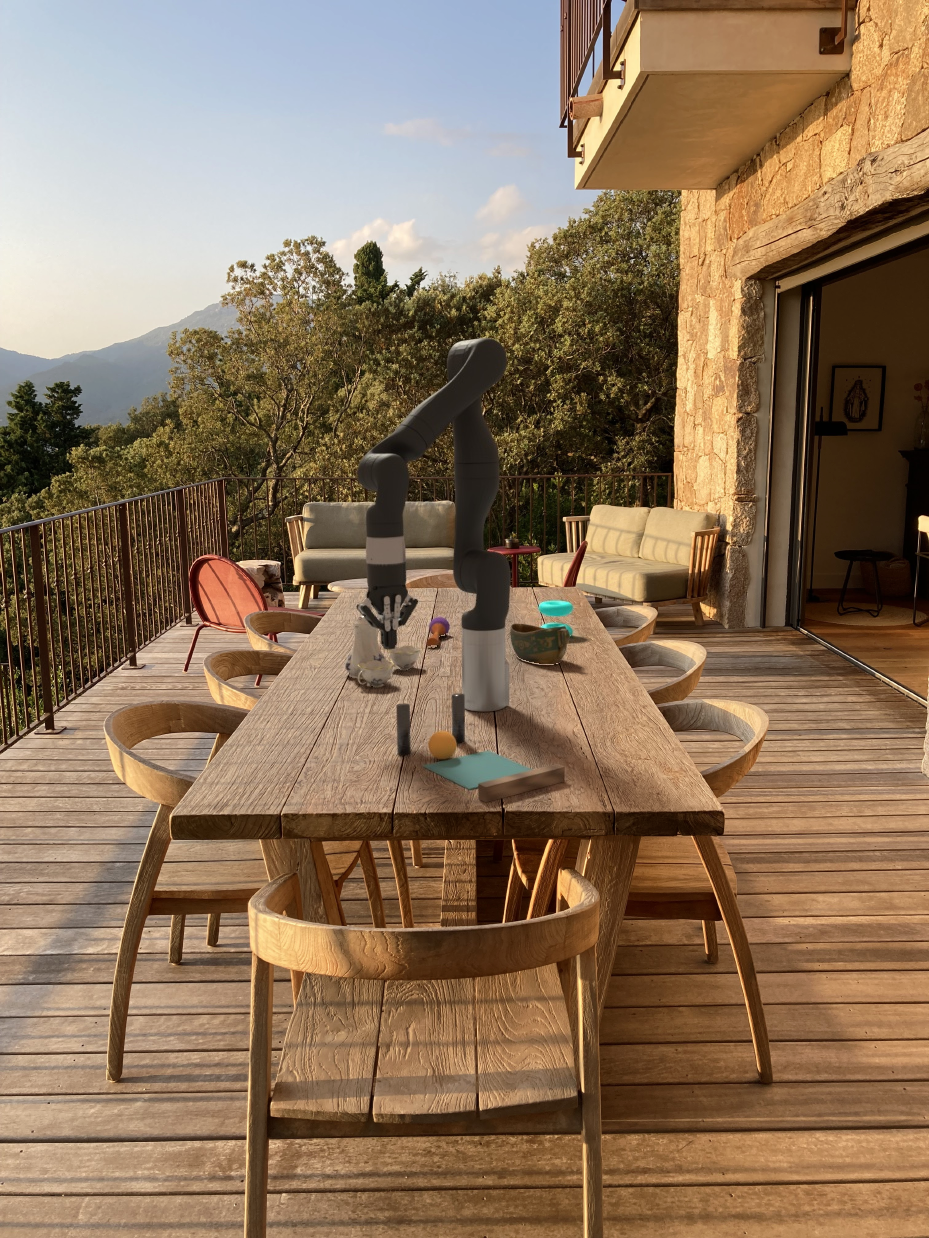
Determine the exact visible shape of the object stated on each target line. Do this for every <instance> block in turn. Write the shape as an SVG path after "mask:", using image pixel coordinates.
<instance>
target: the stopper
mask: <svg viewBox="0 0 929 1238" xmlns="http://www.w3.org/2000/svg"><path fill="white" fill-rule="evenodd" d="M565 770H566V768H565V766H564V765H561V764H559V763H553V764H550V765H546V766H542V767H537V768H534V769H532V770H530V771H526V772H522V773H518V774H514V775H510V776H506V777H502V778H498V779H494V780H490V781H486V782H482V783H478V788H477V792H478V797H477V798H478V799H479V800H480V801H483V802H484V803H489V802H493V801H496V800H499V799H505V798H507V797H511V796H514V795H515V796H517V795H518V794H523V793H527V792H529V791H533V790H536V789H537V790H538V789H542V788H545V787H549V786H552V785H557V784H559V783H564V782H566V778H565V777H566V774H565V772H566V771H565Z"/></svg>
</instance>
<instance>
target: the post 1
mask: <svg viewBox="0 0 929 1238" xmlns="http://www.w3.org/2000/svg"><path fill="white" fill-rule="evenodd" d="M395 709H396V743H397V744H396V745H397V746H396V747H397V755H398V756H401V757H403V756H404V757H406V756H410V755H411V754H412V747H411V704H409V703H405V702H404V703H397V704H396V708H395Z"/></svg>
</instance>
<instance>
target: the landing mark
mask: <svg viewBox="0 0 929 1238" xmlns="http://www.w3.org/2000/svg"><path fill="white" fill-rule="evenodd" d="M422 767H423V768H424V769H427V770H429V771H431V772H433V773H434V774H437V775H439V776H441V777H442V778H445V779H447V780H448V781H451V782H452V783H454V784H457V785H458V786H460V787H463V788H464V789H466V790H468V791H470V790H474V789H478V783H482V782H486V781H490V780H494V779H498V778H502V777H506V776H510V775H514V774H518V773H522V772H526V771H530V770H533V769H532V768H530V767H528V766H525V765H524V764H520V763H519V762H516V761H514V760H512V759H509V758H507V757H504V756H502V755H500V754H497V753H495V752H493V751H490V750H484V751H479V752H475V753H472V754H466V755H463V756H462V755H461V756H457V757H455V758H454V757H453V758H450V759H449V758H448V759H443V760H440V761H436V762H431V763H428V764H424V765H422Z"/></svg>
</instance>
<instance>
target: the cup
mask: <svg viewBox="0 0 929 1238" xmlns="http://www.w3.org/2000/svg"><path fill="white" fill-rule="evenodd" d="M509 631H510V641H511V646H512V649H513V651H514V653H515V654H516V657H517V656H518V657H519V658H521V659H523V660H526V661H529V662H534V663H539V664H556V663H559V662H560V663H561V661H562V659H563V658H565V655H566V652H567V649H568V648H567V647H568V644H569V642H570V639H571V636H570V634H569V631H568V630H567V629H566V626H561V627H553V628H542V627H541V626H537V625H531V624H526V623H513V624H511V625H510V630H509Z"/></svg>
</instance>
